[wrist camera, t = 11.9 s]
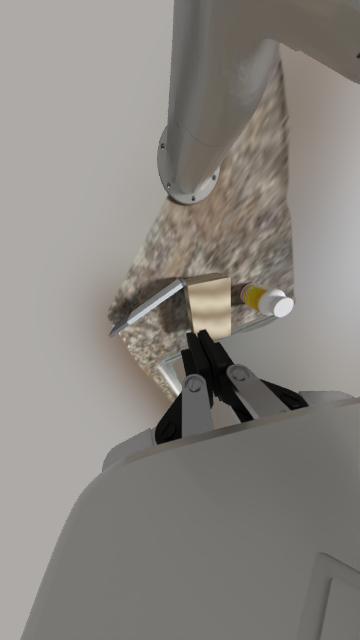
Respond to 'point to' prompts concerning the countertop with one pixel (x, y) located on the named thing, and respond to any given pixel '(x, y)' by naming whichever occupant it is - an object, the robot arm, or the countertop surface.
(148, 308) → the door
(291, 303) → the supplement bottle
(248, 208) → the countertop surface
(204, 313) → the cabinet
